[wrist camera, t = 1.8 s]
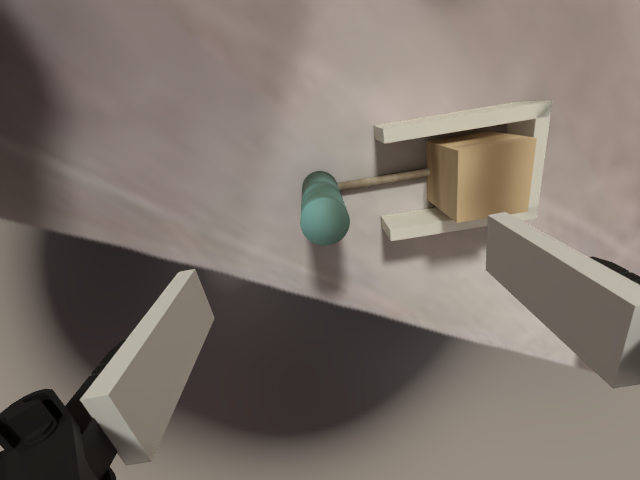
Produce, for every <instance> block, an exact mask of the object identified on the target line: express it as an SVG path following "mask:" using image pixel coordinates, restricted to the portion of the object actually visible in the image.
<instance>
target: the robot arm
mask: <svg viewBox="0 0 640 480" xmlns="http://www.w3.org/2000/svg"><path fill="white" fill-rule="evenodd" d="M486 271H488V272H489V273H490V274H491V275H492V276H493V277H494V278H495V279H496V280H497V281H498V282H499V283H500V284H501V285H503V286H504V287H505V288H506V289H507V290H508V291H509V292H510V293H511V294H512V295H513V296H514V297H515V298H516V299H518V300H519V301H520V302H521V303H522V304H523V305H524V306H525V307H526V308H527V309H528V310H529V311H530V312H532V313H533V314H534V315H535V316H536V317H537V318H538V319H539V320H540V321H541V322H542V323H543V324H544V325H545V326H547V327H548V328H549V329H550V330H551V331H552V332H553V333H554V334H555V335H556V336H557V337H558V338H559V339H560V340H562V341H563V342H564V343H565V344H566V345H567V346H568V347H569V348H570V349H571V350H572V351H573V352H574V353H576V354H577V355H578V356H579V357H580V358H581V359H582V360H583V361H584V362H585V363H586V364H587V365H588V366H589V367H591V368H592V369H593V370H594V371H595V372H596V373H597V374H598V375H599V376H600V377H601V378H602V379H603V380H605V381H606V382H607V383H608V384H609V385H610V386H611V387H612V388H619V387H625V386H632V385H638V384H640V276H638V275H636V274H634V273H629V271H628V270H626V269H624V268H622V267H620V266H618V265H616V264H615V263H613V262H609V261H606V260H603V259H599V258H596V257H587V256H586V255H584V254H582V253H580V252H578V251H576V250H575V249H573V248H571V247H569V246H567V245H565V244H564V243H562V242H560V241H558V240H556V239H554V238H553V237H551V236H549V235H547V234H545V233H543V232H542V231H540V230H538V229H536V228H534V227H532V226H531V225H529V224H527V223H525V222H523V221H521V220H520V219H518V218H516V217H514V216H512V215H510V214H508V213H507V212H502V213H497V214H491V215H488V220H487V250H486ZM213 320H214V316H213V313H212V311H211V308H210V305H209V303H208V301H207V298H206V296H205V293H204V290H203V288H202V285H201V283H200V280H199V278H198V275H197V273H196V270H195V269H193V270H187V271H182V272H178V274H177V275H176V276H175V277H174V279H173V280H172V281H171V283H170V284H169V285H168V286H167V288H166V289H165V290H164V292H163V293H162V294H161V296H160V297H159V298H158V299H157V301H156V302H155V303H154V305H153V306H152V307H151V308H150V310H149V311H148V312H147V314H146V315H145V316H144V317H143V319H142V320H141V321H140V323H139V324H138V325H137V327H136V328H135V329H134V330H133V332H132V333H131V334H130V336H129V337H128V338H127V339H126V340H123V341H122V342H120V343H119V344H118V345H117V346H116V347H114V348H113V349H112V350H111V351H109V353H108V354H107V355H106V356H105V357H104V359H103V360H102V361H101V362H100V366H97V368H96V369H95V370H94V371H93V372H92V376H89V377H88V379H87V380H86V381H85V382H84V383H83V385H82V386H81V387H80V389H79V390H78V391H77V392H76V394H75V395H74V396H73V397H72V398H71V400H70V401H69V402H68V403H67V405H66V406H64V405H63V403H62V402H61V400H60V399H59V398H58V396H57V395H56V394H55V392H54V391H53V390H52V389H43V390H39V391H36V392H33V393H31V394H29V395H26V396H24V397H23V398H21V399H19V400H18V401H16V402H14V403H13V404H11V405H10V406H9V407H8V408H7V409H5V410H4V411H3V412H1V413H0V445H1V446H2V447H3V448H4V450H3V451H1V452H0V480H116V476H115V473H114V472H113V471H112V469H111V468H110V465H111V463H112V461H113V459H114V457H115V456H116V454H117V453H118V455H119V456H120V457H121V459H122V460H123V462H124V463H125V465H131V464H138V463H144V462H151V461H152V459H153V457H154V454H155V452H156V450H157V447H158V445H159V443H160V441H161V438H162V436H163V434H164V431H165V429H166V427H167V425H168V422H169V420H170V418H171V415H172V413H173V411H174V409H175V407H176V404H177V402H178V400H179V397H180V395H181V393H182V391H183V388H184V386H185V384H186V381H187V379H188V377H189V375H190V372H191V370H192V368H193V366H194V363H195V361H196V359H197V357H198V354H199V352H200V350H201V347H202V345H203V343H204V341H205V338H206V336H207V334H208V332H209V329H210V327H211V325H212V322H213Z"/></svg>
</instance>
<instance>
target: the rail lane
mask: <svg viewBox="0 0 640 480" xmlns="http://www.w3.org/2000/svg"><path fill="white" fill-rule="evenodd" d="M551 107H552V101H519V102H513V103H507V104H501V105H495V106H489V107H483V108H477V109H471V110H465V111H459V112H453V113H447V114H441V115H435V116H429V117H423V118H417V119H411V120H405V121H399V122H393V123H387V124H381V125H375V126H374V135H375V139H376V140H378V141H380V142H382V143H384V144H385V143H391V142H397V141H403V140H409V139H415V138H421V137H427V136H433V135H439V134H445V133H451V132H458V131H464V130H470V129H476V128H482V127H488V126H494V125H500V124H506V123H507V131H506V133H507V134H513V135H520V136H527V137H534V138H537V140H536V148H535V157H534V165H533V173H532V181H531V189H530V198H529V206H528V212H522V213H516V214H510V215H512V216H514V217H516V218H518V219H520V220H521V221H524V220H530V219H536V218H537V211H538V203H539V196H540V189H541V181H542V174H543V166H544V159H545V152H546V144H547V137H548V130H549V122H550V115H551ZM487 220H488V218H484V219H478V220H472V221H465V222H459V223H456V222H455V221H454V220H452V219H451V218H450V217H449V216H447V215H446V214H445V213H444V212H442V211H441V210H440V209H439V208H437V207H435V208H428V209H422V210H416V211H409V212H403V213H397V214H391V215H384V216H381V222H382V227H383V229H384V231H385V232H386V234H387V236H388V237H389V239H390V241H396V240H402V239H408V238H415V237H421V236H428V235H434V234H440V233H447V232H453V231H460V230H466V229H472V228H479V227H485V226H487Z"/></svg>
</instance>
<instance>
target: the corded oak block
mask: <svg viewBox="0 0 640 480" xmlns="http://www.w3.org/2000/svg"><path fill="white" fill-rule="evenodd" d="M536 140H537V138H534V137H527V136H520V135H513V134H507V133H500V132H493V131H483V132H477V133H471V134H465V135H459V136H453V137H447V138H441V139H435V140H429V141H426V145H427V168H426V169H420V170H414V171H408V172H402V173H396V174H390V175H383V176H377V177H371V178H365V179H359V180H353V181H347V182H340V183H336V180H335V179H334V177H333V176H332V175H330V174H329V173H327V172H324V171H316V172H313V173H311V174H310V175H308V176H307V177H306V179H305V180H304V182H303V186H302V203H301V222H300V224H301V229H302V232H303V234H304V235H305V237H306V238H307V239H308V240H310V241H311V242H313V243H315V244H318V245H331V244H334V243H336V242H338V241H340V240H341V239H342V238H343V237H344V236H345V235H346V233H347V231H348V229H349V224H350V219H349V215H348V212H347V209H346V207H345V204H344V201H343V199H342V196H341V193H340V191H341V190H347V189H354V188H360V187H366V186H372V185H378V184H384V183H391V182H397V181H403V180H409V179H415V178H421V177H427V200H428V201H430V202H431V203H432V204H434V205H435V206H436V207H437V208H439V209H440V210H441V211H442V212H444V213H445V214H446V215H447V216H449V217H450V218H451V219H452V220H454V221H455V222H456V223H459V222H465V221H472V220H478V219H484V218H488V215H491V214H497V213H502V212H507V213H508V214H516V213H522V212H528V206H529V198H530V189H531V181H532V173H533V165H534V157H535V148H536Z"/></svg>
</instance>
